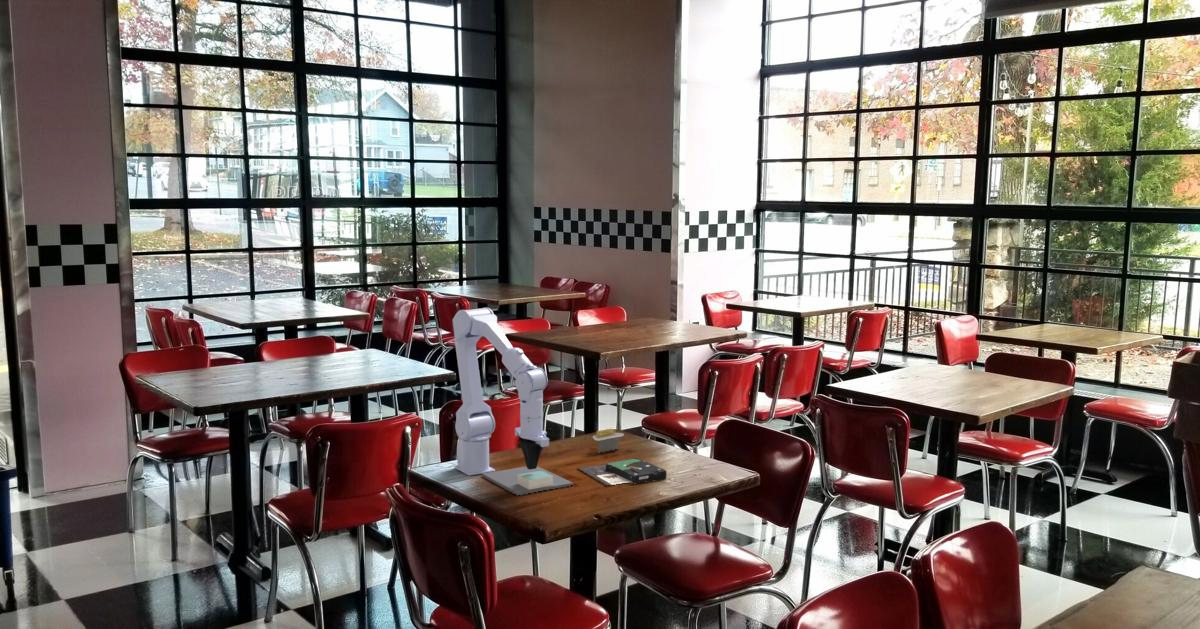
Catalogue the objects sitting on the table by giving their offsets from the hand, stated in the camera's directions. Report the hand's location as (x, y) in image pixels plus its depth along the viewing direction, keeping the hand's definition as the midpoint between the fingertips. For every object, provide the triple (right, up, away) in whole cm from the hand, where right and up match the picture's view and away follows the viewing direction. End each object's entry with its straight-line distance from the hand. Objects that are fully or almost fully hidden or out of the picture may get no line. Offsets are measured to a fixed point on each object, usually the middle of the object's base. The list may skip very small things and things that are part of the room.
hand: (531, 468), depth 248 cm
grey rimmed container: (+19, -1, +36) cm, 41 cm away
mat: (-2, -4, +5) cm, 7 cm away
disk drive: (+27, -4, +12) cm, 30 cm away
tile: (-1, -2, +1) cm, 3 cm away
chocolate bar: (+19, -4, +10) cm, 22 cm away
